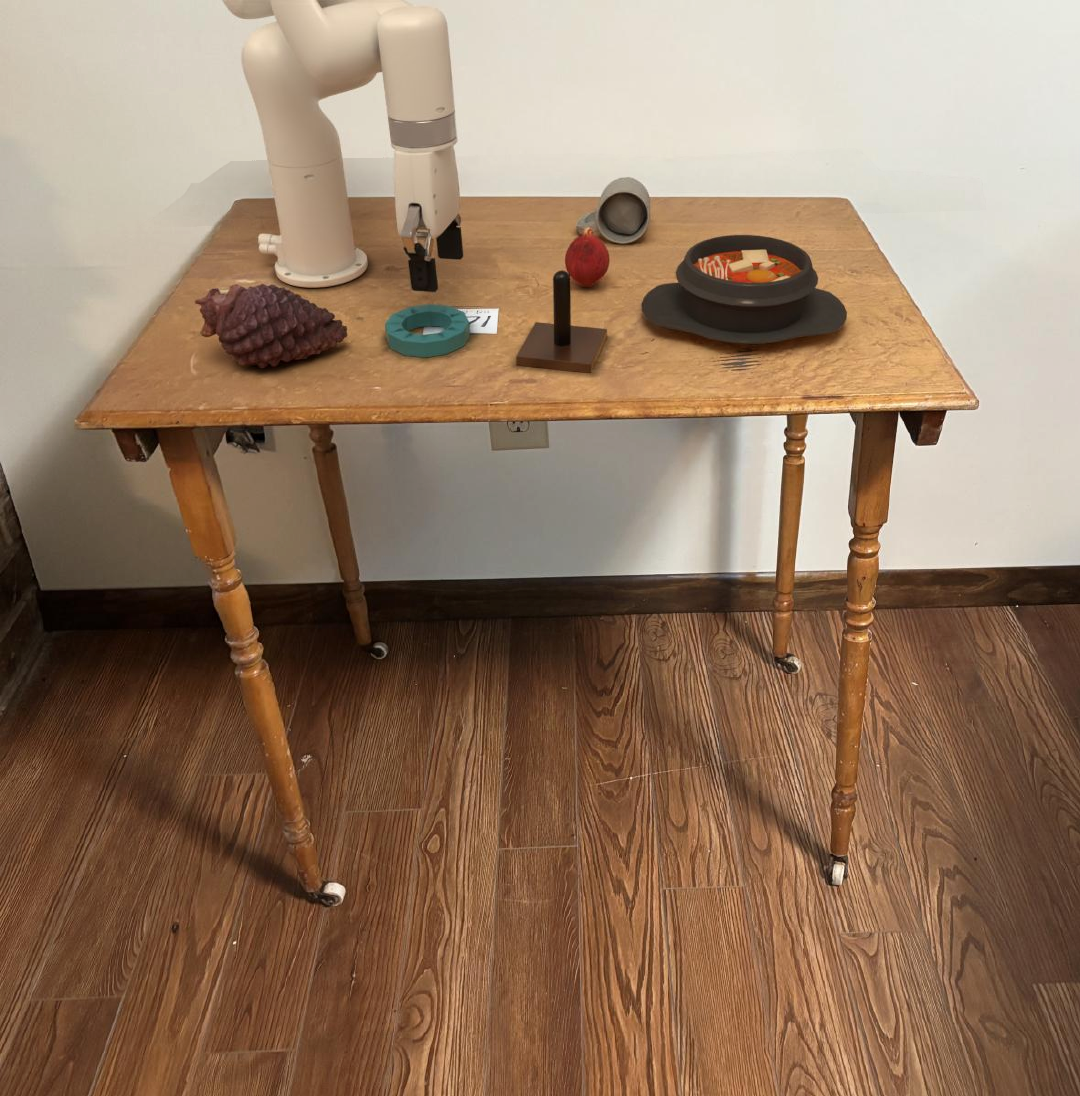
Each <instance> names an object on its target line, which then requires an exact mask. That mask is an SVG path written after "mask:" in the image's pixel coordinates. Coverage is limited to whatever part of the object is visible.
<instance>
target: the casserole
mask: <svg viewBox="0 0 1080 1096" xmlns="http://www.w3.org/2000/svg"><path fill="white" fill-rule="evenodd" d="M675 277H676V280H677V282H669V283H663V284H658V285H656V286H655V287H654V288H652V289H650V290H649V291H648V292H647V293H646V294H645V296H644V297H643V299H642V301H641V312H642V313H643V315H644V317H645V318H646V319H647V320H648V321H649V323H652V324H653V325H655V326H657V327H660V328H665V329H669V330H670V329H671V330H674V331H675V330H676V331H681V332H686V333H690V334H693V335H695V336H699V337H703V338H705V339H706V338H707V339H708V340H709V339H710V340H713V341H717V342H722V343H728V344H739V345H761V344H762V345H763V344H771V343H778V342H782V341H788V340H791V339H796V338H800V337H801V338H802V337H814V336H816V337H817V336H823V335H828V334H831V333H834V332H837V331H839V330H840V329H841V328H842V327H843V326H844V325H845V324H846V321H847V318H848V311H847V309H846V305H844V303H843V302H842V301H841V300H840V299H839V298H838V297H837V296H836V295H835V294H833V293H832V292H830V291H827V290H824V289H820V288H816V287H817V285H818V283H819V276H818V273H817V271H816V270H815V269H814V267H813V262H812V259H811V257H810V255H809V254H808V253H807V251H805V250H804V249H802V248H801V247H800V246H797V245H796V244H793V243H792V242H789V241H785V240H783V239H779V238H776V237H771V236H763V235H757V234H756V235H754V234H731V235H722V236H721V235H720V236H715V237H711V238H707V239H704V240H702V241H700V242H697V243H696V244H694V245H692V246H691V247H690V248H689V249H688V250H687V251H686V253H685V256H684V258H683V260H682V261H680V263H679V264H678V265H677V267H676V270H675Z"/></svg>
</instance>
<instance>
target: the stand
mask: <svg viewBox="0 0 1080 1096" xmlns="http://www.w3.org/2000/svg"><path fill="white" fill-rule="evenodd" d="M571 282H572V281H571V277H570V275H569V274H568V272H567V270H558V271H556V272H555V273H554V274H553V276H552V293H553V294H552V296H553V297H552V298H553V299H552V300H553V305H552V307H553V323H549V322H540V321H535V322H534V324H533V326H532V327H531V329H530V331H529V333H528V335H527V336H526V338H525V340H524V342H523V344H522V345H521V347H520V349H519V350H518V352H517V354H516V356H515V360H516V366H518V367H519V366H521V367H528V368H529V367H531V368H539V369H548V370H559V371H566V372H577V373H585V374H586V373H587V374H592V372H593V370H594V367H595V365H596V363H597V361H598V359H599V356H600V354H601V352H602V349H603V348H604V345H605V343H606V340H607V338H608V329H607V328H600V327H590V326H580V325H579V326H578V325H572V314H571V313H572V312H571V309H572V307H571V306H572V304H571V303H572V302H571V301H572V300H571V299H572V298H571V290H572V289H571V287H572V286H571Z"/></svg>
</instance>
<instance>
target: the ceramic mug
mask: <svg viewBox="0 0 1080 1096" xmlns="http://www.w3.org/2000/svg"><path fill="white" fill-rule="evenodd" d="M650 221H651V197H650V194H649V190H648V189H647V188H646V186H645V185H644V184H643V183H642V182H640V181H639V180H638V179H636V178H634V177H629V176H624V177H618V178H615V179H614V180H612V181H611V182H609V183H608V184H607V185H606V186H605V188H604V189H603V191H602V193H601V195H600V197H599V201H598V205H597V207H596V208H595V209H593V210H591V211H589V212H587V213H585V214H584V215H582V216H581V217H580V218H579V219H578V220H577V221H576V223H575V228H576V229H577V231H578V233H579V235H580V236H581V235H582V233H583V231H584V229H585V228H588V227H589V228H591V229H592V230H593V232H592V233H593V234H595V233H600V234H601V235H602V236H603V237H604V238H605V239H606V240H608V241H609V242H612V243H615V244H619V245H626V244H631V243H634V242H636V241H638V240H639V239H641V237H643V235H644V234H645V233H646V232H647V230H648V228H649V226H650Z"/></svg>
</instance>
